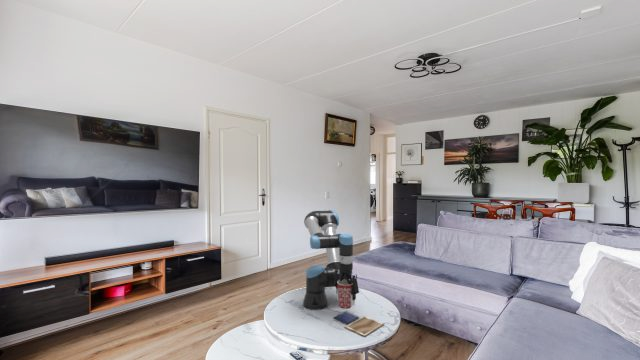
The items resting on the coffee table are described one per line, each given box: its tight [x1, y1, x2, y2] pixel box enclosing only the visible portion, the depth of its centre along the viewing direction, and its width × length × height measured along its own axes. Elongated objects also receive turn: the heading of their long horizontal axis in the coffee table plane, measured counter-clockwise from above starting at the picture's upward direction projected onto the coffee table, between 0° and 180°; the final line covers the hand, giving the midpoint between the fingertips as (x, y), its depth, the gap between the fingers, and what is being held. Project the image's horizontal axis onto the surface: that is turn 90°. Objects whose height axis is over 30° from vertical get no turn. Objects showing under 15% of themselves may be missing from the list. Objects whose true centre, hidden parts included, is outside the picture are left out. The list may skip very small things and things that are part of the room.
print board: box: [344, 315, 385, 338], centre depth 151 cm, size 13×17×1 cm
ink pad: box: [333, 311, 360, 326], centre depth 160 cm, size 10×10×1 cm
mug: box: [337, 279, 353, 310], centre depth 161 cm, size 13×9×14 cm
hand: (345, 302), depth 161 cm, fingers closed on mug, 9 cm apart
